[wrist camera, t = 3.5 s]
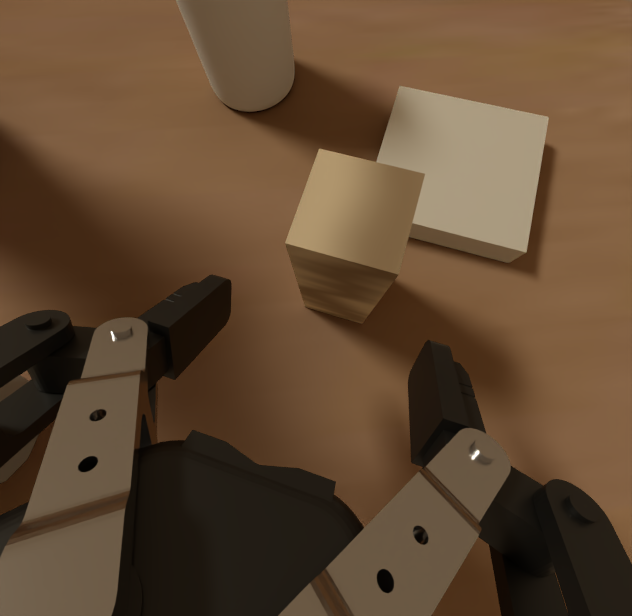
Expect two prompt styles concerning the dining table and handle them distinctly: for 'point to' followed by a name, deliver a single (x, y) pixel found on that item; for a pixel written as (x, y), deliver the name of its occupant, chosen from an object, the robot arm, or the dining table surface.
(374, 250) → the maple block
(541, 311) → the dining table surface
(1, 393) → the cup
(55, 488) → the robot arm
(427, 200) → the block
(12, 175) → the dining table surface
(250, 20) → the pill bottle
